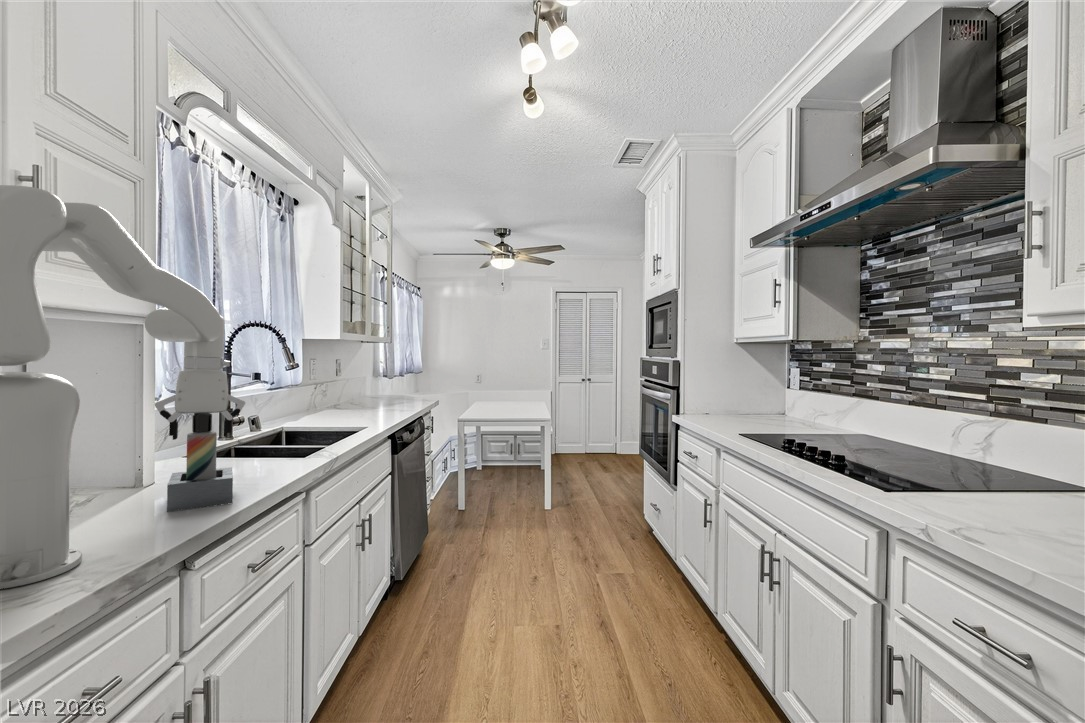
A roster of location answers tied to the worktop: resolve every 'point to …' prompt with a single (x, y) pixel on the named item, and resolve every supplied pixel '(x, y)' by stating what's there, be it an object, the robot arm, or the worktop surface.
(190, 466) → the lotion bottle
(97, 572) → the worktop surface
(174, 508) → the socket block
